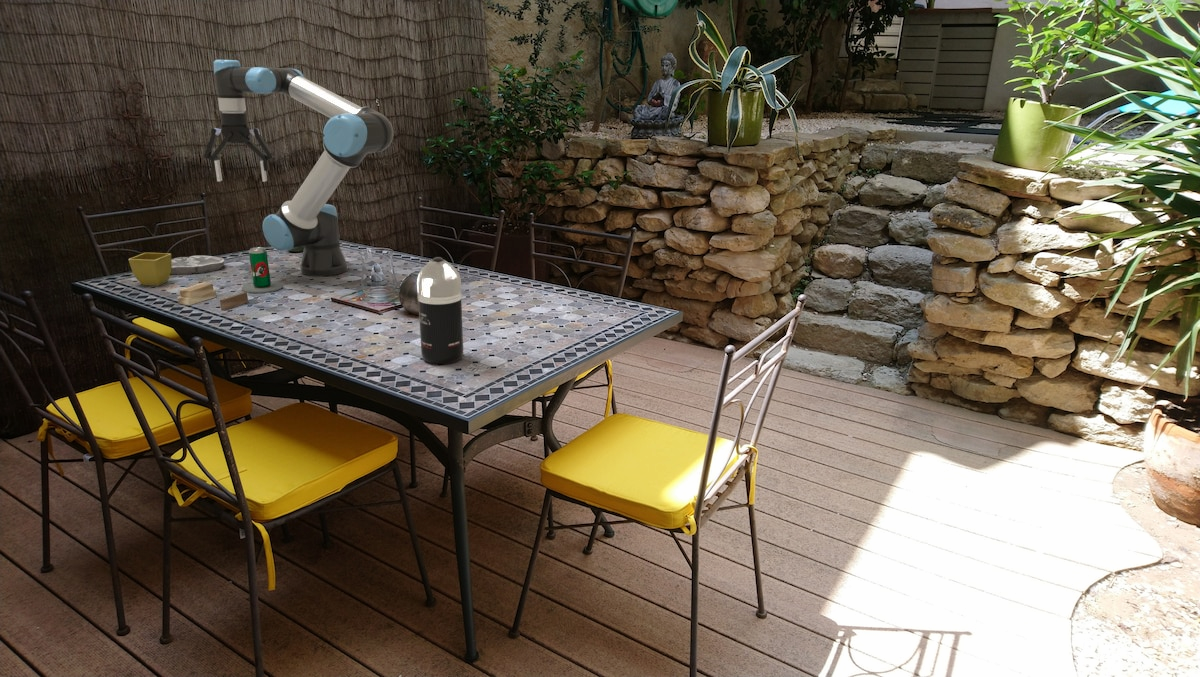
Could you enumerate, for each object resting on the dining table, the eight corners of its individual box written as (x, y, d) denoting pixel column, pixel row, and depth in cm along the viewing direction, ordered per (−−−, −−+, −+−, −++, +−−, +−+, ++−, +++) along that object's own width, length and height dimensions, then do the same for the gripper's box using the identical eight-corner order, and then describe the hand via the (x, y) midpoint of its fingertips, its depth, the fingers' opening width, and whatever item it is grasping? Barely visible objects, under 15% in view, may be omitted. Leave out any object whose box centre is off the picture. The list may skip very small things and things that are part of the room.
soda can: (274, 285, 232) (269, 247, 228) (263, 289, 228) (257, 251, 224) (261, 283, 234) (256, 246, 230) (250, 287, 229) (244, 249, 225)
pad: (287, 282, 237) (287, 280, 237) (278, 292, 226) (278, 291, 226) (247, 283, 235) (247, 281, 235) (237, 293, 224) (236, 291, 224)
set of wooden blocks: (177, 303, 213) (175, 290, 212) (205, 294, 222) (203, 282, 221) (222, 310, 208) (220, 297, 207) (249, 301, 217) (247, 288, 216)
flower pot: (160, 288, 228) (155, 259, 225) (132, 287, 228) (127, 258, 225) (176, 280, 236) (171, 253, 233) (149, 279, 237) (144, 252, 234)
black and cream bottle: (438, 369, 171) (432, 264, 163) (412, 358, 177) (405, 256, 169) (473, 358, 178) (469, 257, 170) (447, 347, 184) (442, 250, 176)
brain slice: (219, 261, 263) (218, 253, 262) (228, 271, 250) (227, 263, 249) (156, 268, 252) (155, 259, 251) (163, 279, 239) (161, 270, 238)
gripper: (278, 112, 236) (285, 179, 243) (194, 111, 231) (204, 179, 238) (272, 113, 229) (280, 182, 236) (185, 112, 224) (196, 182, 231)
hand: (242, 181), depth 237 cm, fingers open, 13 cm apart
